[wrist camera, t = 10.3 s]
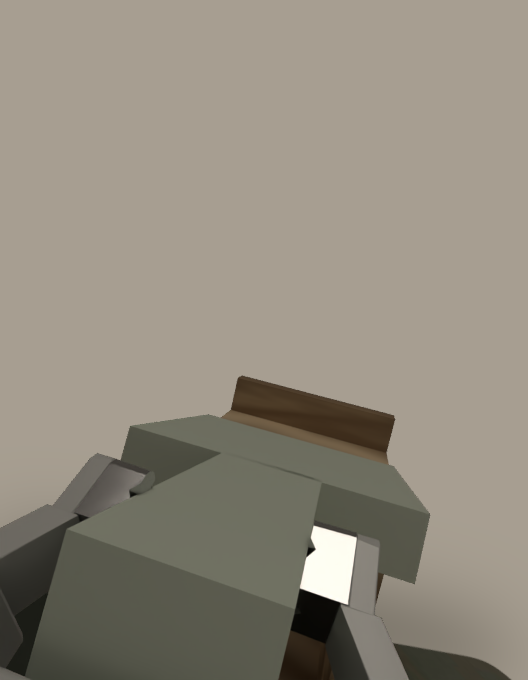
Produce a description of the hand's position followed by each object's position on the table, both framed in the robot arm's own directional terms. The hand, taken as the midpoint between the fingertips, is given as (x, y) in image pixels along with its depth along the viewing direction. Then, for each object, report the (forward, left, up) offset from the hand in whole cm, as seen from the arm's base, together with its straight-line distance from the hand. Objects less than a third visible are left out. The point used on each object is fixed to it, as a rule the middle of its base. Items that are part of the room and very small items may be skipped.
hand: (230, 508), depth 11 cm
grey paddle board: (-5, +5, -4) cm, 8 cm away
